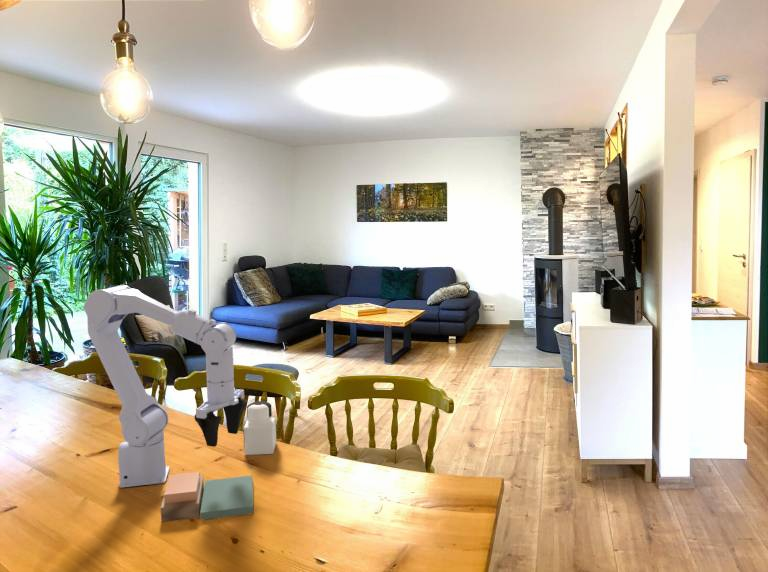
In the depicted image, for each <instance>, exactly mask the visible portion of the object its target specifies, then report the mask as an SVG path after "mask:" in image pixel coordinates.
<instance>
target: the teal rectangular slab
mask: <svg viewBox="0 0 768 572" xmlns="http://www.w3.org/2000/svg"><path fill="white" fill-rule="evenodd" d="M204 481H205V482H204V492H203V498H202V504H201V511H200V517H199V518H200V521H203V520H213V519H221V518H227V517H228V518H229V517H235V516H243V515H252V514H254V487H253V485H254V482H253V475H244V476H235V477H228V478H218V479H209V480H204Z"/></svg>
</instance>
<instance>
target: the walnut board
mask: <svg viewBox="0 0 768 572" xmlns="http://www.w3.org/2000/svg"><path fill="white" fill-rule="evenodd" d="M204 486H205V482H204V476H201V475H200V484H199V489H198V495H197V500H191V501H183V502H174V503H166V504H164V497H163V498H162V502H161V504H160V505H161V506H160V519H161V521H160V522H161V523H166V522H176V521H183V520H184V521H185V520H191V519H199V518H200V511H201V505H202V498H203V492H204Z"/></svg>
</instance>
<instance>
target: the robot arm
mask: <svg viewBox="0 0 768 572" xmlns="http://www.w3.org/2000/svg"><path fill="white" fill-rule="evenodd" d="M82 308H83V310H84V312H85V315H86V317H87V320H86V321H87V334H88V336H89V338H90V341H91V342H92V345H93V346H94V349H95V351H96V353H97V356H98V357H99V359H100V362H101V364H102V366H103V368H104V370H105V372H106V374H107V377H108V379H109V381H110V383H111V385H112V386H113V389H114V391H115V393H116V395H117V397H118V399H119V402H120V404H121V409H120V412H119V415H118V419H119V422H120V425H121V435H122V437H123V439H124V440H125V441H123V442H120V444H119V447H118V451H117V452H118V455H117V456H118V458H117V459H118V473H119V486H118V487H119V488H121V489H122V488H131V487H139V486H146V485H147V486H148V485H158V484H164V483H166V482H167V479H168V475H169V473H170V468H171V467H170V465H169V466H167V465H166V453H165V439H164V438H165V435H164V434H165V432H164V430H165V428H166V427H167V425H168V423H169V414H168V412H167V411H166V409H165V408H163V407H162V406H161V405H160V404H159V401H158V400H157V398H155V397H154V396H152V395H150V394H148V393H147V392H146V389H145V387H144V385H143V383H142V380H141V378H140V376H139V374H138V372H137V370H136V368H135V366H134V363H133V362H132V359H131V357H130V355H129V353H128V351H127V349H126V347H125V345H124V342H123V341H122V338H121V336H120V334H119V328H120V326H121V325H122V322H123V320H124V319H125V318H126V316H128V314H136V313H137V314H139V315H142V316H145V317H147V318H150V319H153V320H155V321H157V322H160V323H163V324H166V325H168V326H170V328H171V330H172V332H173V334H174V335H177V336H179V337H182V338H184V339H186V340H188V341H191V342H193V343H194V344H197V345H199V346H200V347H201V349H202V350H203V352H204V353H205V366H206V367H205V370H206V393H207V398H206V400H204V402H203V403H202V404H201V405H200V406H199V407H197V408H196V409H195V414H194V421H195V422H196V423H197V425H198V426H199V428H200V430H201V431H202V434H203V438H204V439H205V444H206V446H207V447H212V448H216V447H217V445H218V441H219V440H218V438H219V437H218V436H219V434H218V433H219V426H220V424H221V423H220V422H221V420H222V416H218V415H216V414H215V413H214V412H216V411H219V410H221V409H222V408H223V411H224V415H225V421H226V430H227V434H232V435H233V434H234V435H237V434H238V433H239V432H238V431H239V427H240V424H241V423H240V422H241V419H242V416H243V412H244V411H245V409H246V408H247V406H248V405H247V404H248V403H247V400H244V399H245V390H244V389H237V388H236V389H235V380H234V378H235V373H234V371H235V369H234V354H233V353H234V350H233V349H234V348H233V345H235V343H236V340H237V333H236V330H235V328H234V327H233V326H231V325H230V324H229V323H228V322H223V321H222V322H218V323H217V320H216V319H213V318H211V319H209V318H206V317H204V316H202V315H200V314H197V310H195V309H193V308H191V309H182V310H180V311H178V310H175V309H173V308H171V307H169V306H168V305H166V304H164V303H162V302H160V301H158V300H157V299H154V298H152V297H150V296H148V295H147V294H144V293H142V292H141V291H140V290H139V289H136V288H131V287H130V286H128V285H127V284H126V285H125V284H120V285H116V286H112V287H108V288H104V289H95V290H93V291H92V292H90V294H89V295H88V296H87V298H86V301H85V303H84V305H83V306H82Z"/></svg>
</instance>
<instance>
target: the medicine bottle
mask: <svg viewBox="0 0 768 572" xmlns="http://www.w3.org/2000/svg"><path fill="white" fill-rule="evenodd" d="M272 410H273V409H272V404H271V403H270V402H268V401H265V400H264V401H262V400H258V401H253V402H251V403H249V404H248V405H246V422H245V424H244V426H243V428H242V429H243V430H242V431H243V449H244V451H243V453H244V455H245V456H257V455H273V454H274V453H275V448H276V445H277V428H276V427H277V426H276V425H277V423H276V417H274V416H272V414H273V413H272Z"/></svg>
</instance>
